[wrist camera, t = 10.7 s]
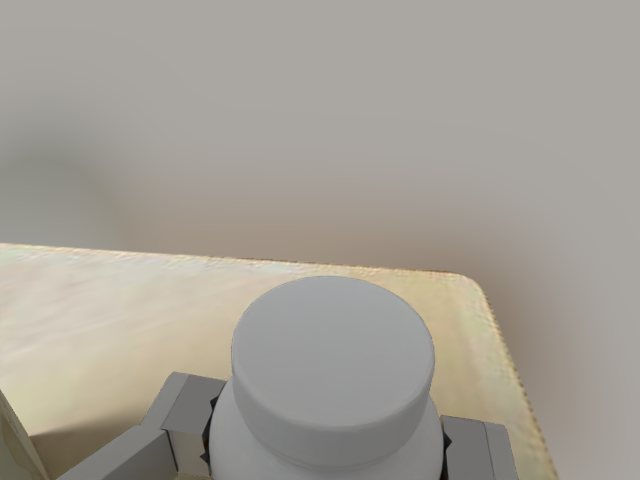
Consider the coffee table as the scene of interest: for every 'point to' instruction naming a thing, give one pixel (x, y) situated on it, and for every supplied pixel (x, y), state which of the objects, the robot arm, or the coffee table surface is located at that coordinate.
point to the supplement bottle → (328, 388)
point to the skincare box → (17, 448)
